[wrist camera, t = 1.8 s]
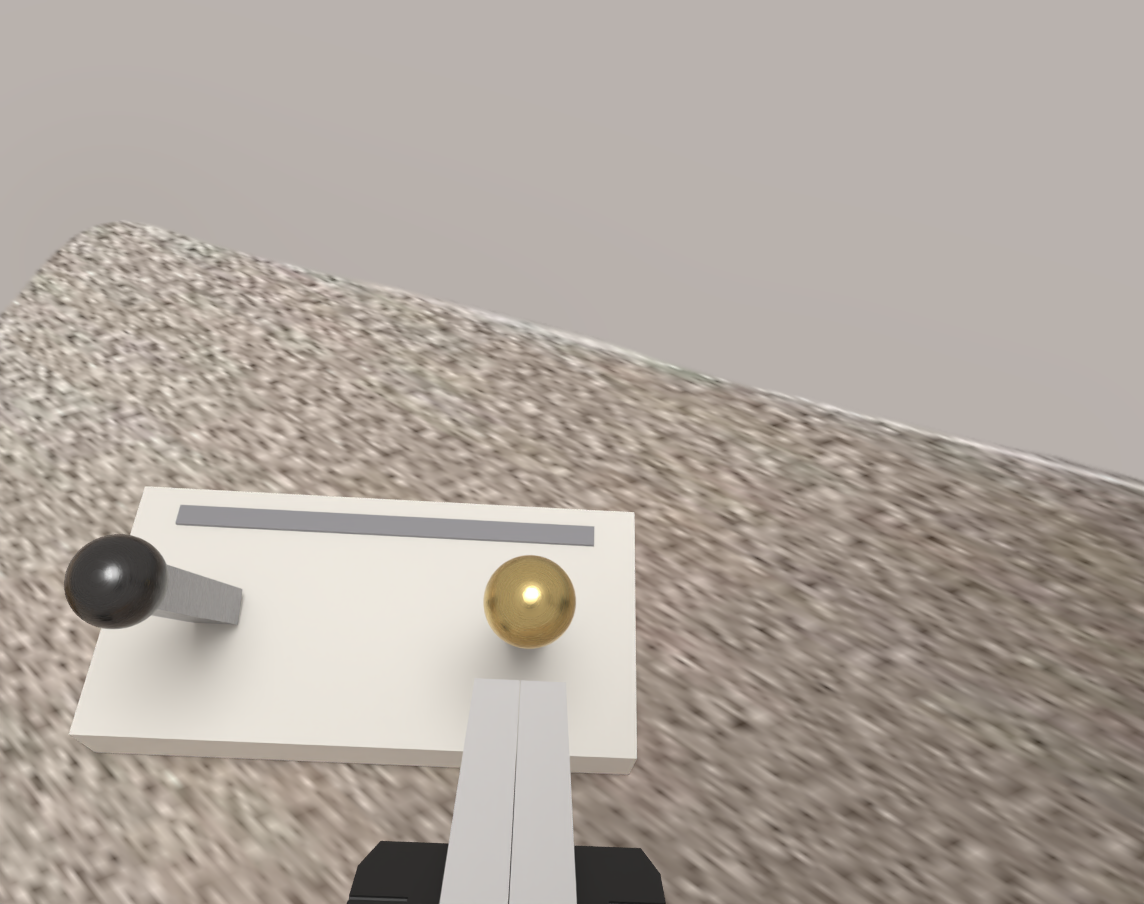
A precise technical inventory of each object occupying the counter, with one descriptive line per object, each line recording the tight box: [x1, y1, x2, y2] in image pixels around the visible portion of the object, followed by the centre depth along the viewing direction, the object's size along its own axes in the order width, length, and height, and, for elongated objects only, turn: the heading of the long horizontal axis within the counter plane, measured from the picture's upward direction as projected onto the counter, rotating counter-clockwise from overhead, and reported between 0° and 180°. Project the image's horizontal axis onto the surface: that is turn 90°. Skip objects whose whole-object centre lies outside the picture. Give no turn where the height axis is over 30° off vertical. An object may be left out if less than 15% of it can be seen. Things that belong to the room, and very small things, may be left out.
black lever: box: [64, 534, 242, 629], centre depth 36 cm, size 3×3×12 cm
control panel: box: [69, 486, 637, 775], centre depth 44 cm, size 12×24×3 cm, turn 88°
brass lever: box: [483, 555, 576, 649], centre depth 37 cm, size 3×3×12 cm
